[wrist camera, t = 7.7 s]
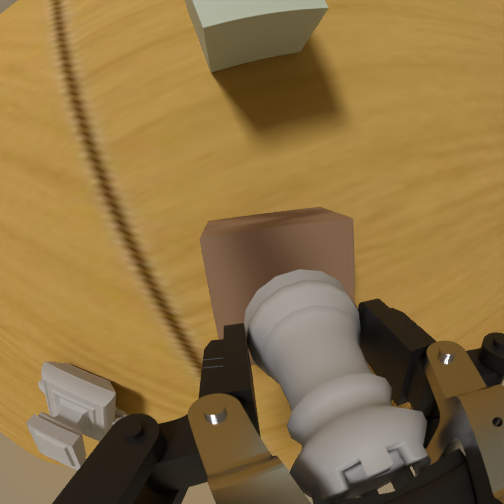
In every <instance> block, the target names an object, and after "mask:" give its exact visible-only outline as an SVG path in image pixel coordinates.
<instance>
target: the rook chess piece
mask: <svg viewBox="0 0 504 504" xmlns="http://www.w3.org/2000/svg"><path fill="white" fill-rule="evenodd" d="M244 326H245V332H246V338H247V345H248V348H249V351H250V354H251V356H252V359H253V361H254V362H255V363H256V365H257V366H259V367H260V368H261V369H262V370H263V371H264V372H265V373H266V374H267V375H268V376H270V377H272V378H273V379H274V380H275V381H276V382H277V383H279V384H280V386H281V388H282V390H283V392H284V394H285V396H286V398H287V400H288V402H289V404H290V407H291V410H292V413H291V416H290V419H289V422H288V425H287V428H288V430H289V433H290V436H291V438H292V439H294V440H295V441H297V442H298V443H300V444H302V450H301V452H300V454H299V455H298V457H297V459H296V460H295V462H294V464H293V466H292V468H291V471H290V472H289V473H290V474H291V476H292V477H293V479H294V480H295V482H296V483H297V485H298V486H299V487H300V489H301V490H302V492H303V493H304V494H306V495H308V496H310V497H311V498H312V499H313V504H331V503H334V502H338V501H342V500H345V499H349V498H356V497H366V496H373V495H379V493H378V491H377V489H379V488H381V487H382V486H384V485H386V484H388V483H389V482H391V483H392V485H393V487H394V489H395V491H396V490H398V489H400V488H401V487H402V486H404V485H405V484H406V483H408V482H409V481H410V480H412V479H413V478H414V475H413V473H412V472H411V470H410V466H412V467H413V469H414V471H415V473H416V474H419V473H421V472H422V471H423V470H424V469H425V468H427V467H428V466H429V465H430V463H431V461H432V460H431V458H430V457H429V455H428V453H427V452H426V450H425V449H424V447H423V443H424V438H425V433H426V427H427V420H426V418H425V416H424V414H423V413H422V412H421V411H416V410H410V409H405V408H399V407H393V406H392V404H391V398H392V387H391V386H390V385H389V383H388V382H387V380H386V379H385V378H383V377H380V376H377V375H374V374H372V372H371V371H370V369H369V366H368V364H367V362H366V360H365V357H364V355H363V353H362V350H361V348H360V346H359V345H360V331H361V329H360V320H359V312H358V308H357V306H356V304H355V303H354V301H353V300H352V298H351V297H350V295H349V294H348V292H347V291H346V290H345V289H344V287H343V286H342V284H341V283H340V281H338V280H337V279H335V278H333V277H331V276H329V275H328V274H326V273H324V272H322V271H313V270H301V269H299V270H295V271H292V272H289V273H285V274H282V275H279V276H276V277H275V278H273V279H272V280H271V281H269V282H268V283H267V284H265V285H264V286H263V287H261V288H260V289H259V290H257V292H256V293H255V295H254V297H253V298H252V300H251V302H250V303H249V305H248V307H247V308H246V310H245V318H244Z"/></svg>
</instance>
